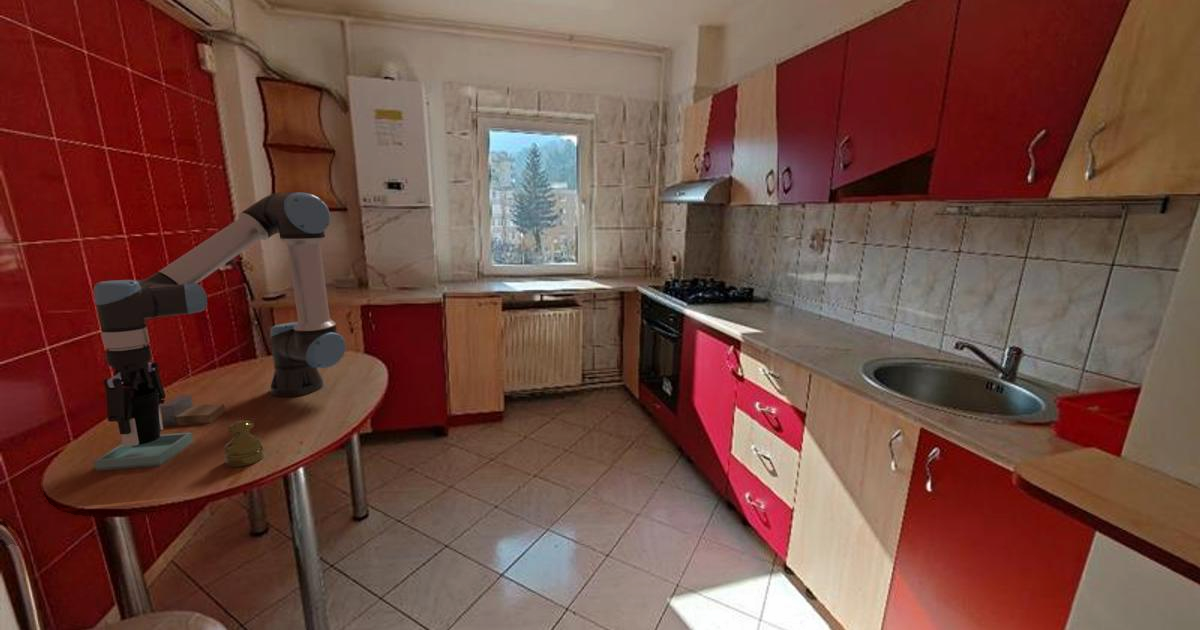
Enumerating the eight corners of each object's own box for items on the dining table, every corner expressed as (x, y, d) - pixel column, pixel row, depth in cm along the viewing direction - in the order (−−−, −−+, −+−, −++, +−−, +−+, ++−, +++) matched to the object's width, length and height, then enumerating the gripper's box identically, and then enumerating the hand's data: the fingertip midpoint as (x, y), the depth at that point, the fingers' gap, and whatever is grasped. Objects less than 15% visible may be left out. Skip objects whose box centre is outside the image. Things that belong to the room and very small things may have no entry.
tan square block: (225, 413, 140) (224, 403, 139) (210, 424, 132) (208, 414, 132) (194, 415, 138) (193, 405, 137) (177, 426, 130) (175, 416, 130)
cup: (173, 435, 115) (165, 390, 113) (134, 449, 108) (125, 400, 106) (153, 430, 118) (145, 385, 115) (114, 443, 111) (105, 396, 108)
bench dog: (193, 414, 138) (190, 394, 137) (176, 425, 130) (173, 405, 129) (182, 414, 137) (178, 395, 136) (163, 426, 129) (160, 406, 128)
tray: (193, 441, 121) (192, 432, 121) (160, 465, 109) (158, 456, 109) (136, 445, 118) (134, 436, 118) (95, 471, 106) (93, 461, 106)
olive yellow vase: (222, 470, 108) (216, 430, 106) (230, 456, 114) (224, 418, 112) (261, 463, 111) (256, 424, 109) (266, 450, 118) (261, 413, 116)
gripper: (140, 336, 117) (154, 421, 122) (69, 359, 98) (90, 459, 102) (175, 335, 119) (188, 419, 123) (112, 358, 99) (131, 456, 104)
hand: (143, 437), depth 113 cm, fingers closed on cup, 8 cm apart
